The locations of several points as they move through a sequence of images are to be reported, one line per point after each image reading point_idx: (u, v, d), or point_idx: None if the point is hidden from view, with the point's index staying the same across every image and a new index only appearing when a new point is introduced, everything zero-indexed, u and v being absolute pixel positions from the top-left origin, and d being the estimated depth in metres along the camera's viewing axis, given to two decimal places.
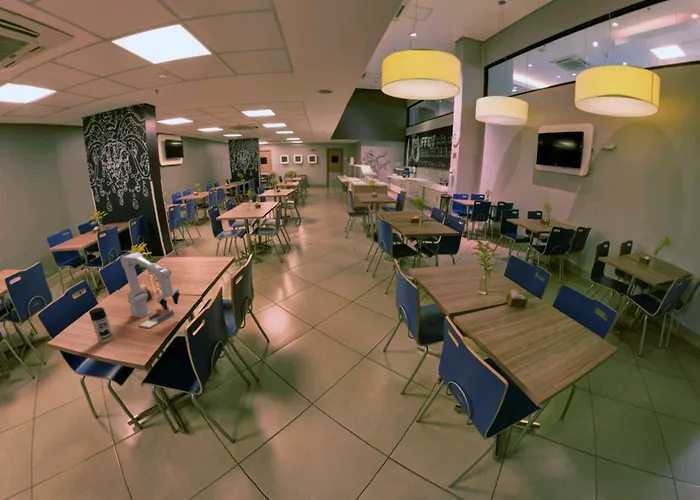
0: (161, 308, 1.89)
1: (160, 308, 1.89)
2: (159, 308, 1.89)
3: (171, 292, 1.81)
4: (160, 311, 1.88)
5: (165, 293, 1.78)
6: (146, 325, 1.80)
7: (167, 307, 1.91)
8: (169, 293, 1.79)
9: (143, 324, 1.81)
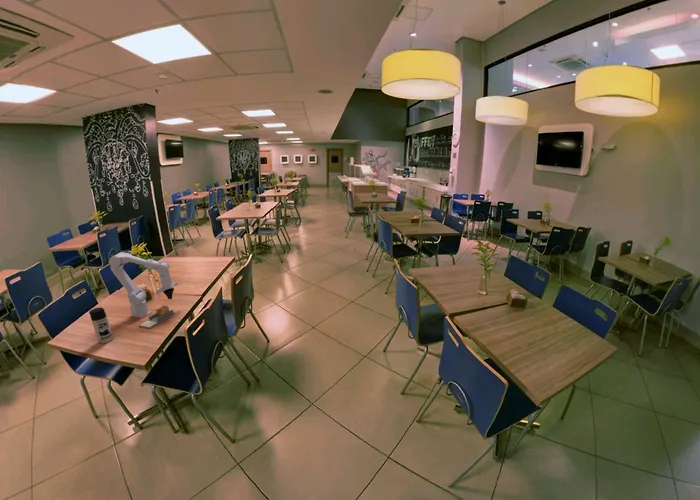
0: (161, 308, 1.89)
1: (160, 308, 1.89)
2: (159, 308, 1.89)
3: (170, 285, 1.92)
4: (160, 311, 1.88)
5: (164, 286, 1.90)
6: (146, 325, 1.80)
7: (167, 307, 1.91)
8: (168, 286, 1.91)
9: (143, 324, 1.81)
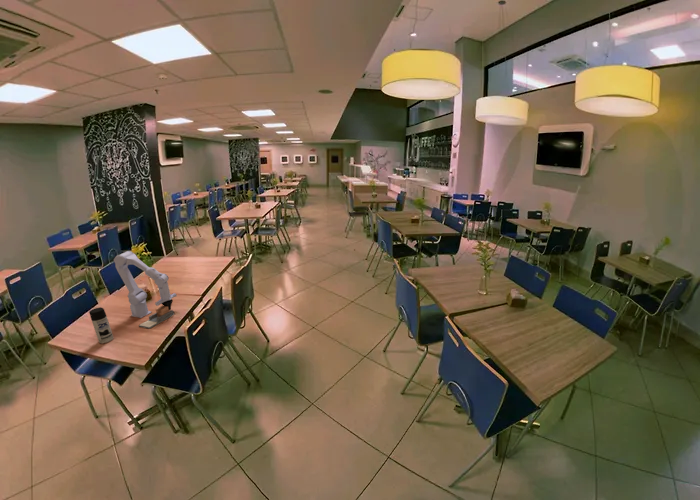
0: (161, 308, 1.89)
1: (159, 308, 1.89)
2: (159, 308, 1.89)
3: (169, 297, 1.92)
4: (159, 311, 1.88)
5: (163, 298, 1.90)
6: (146, 325, 1.80)
7: (167, 307, 1.91)
8: (167, 297, 1.91)
9: (143, 324, 1.81)
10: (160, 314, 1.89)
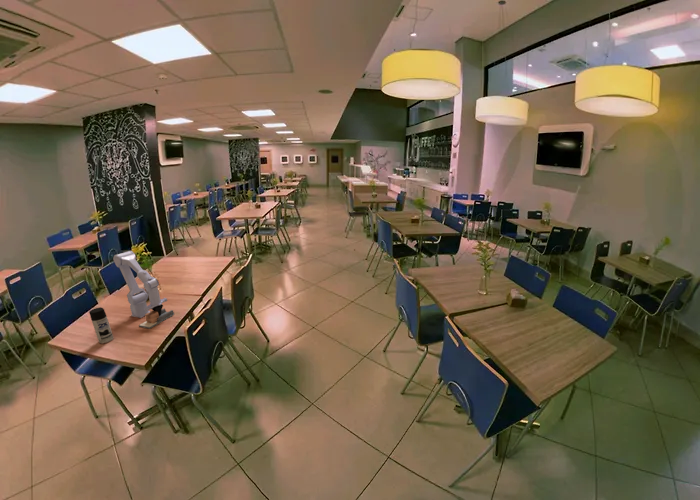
0: (150, 314, 1.82)
1: (149, 314, 1.82)
2: (149, 314, 1.83)
3: (159, 302, 1.85)
4: (149, 317, 1.81)
5: (153, 303, 1.83)
6: (146, 325, 1.80)
7: (157, 313, 1.85)
8: (157, 303, 1.84)
9: (143, 324, 1.81)
10: (149, 320, 1.82)
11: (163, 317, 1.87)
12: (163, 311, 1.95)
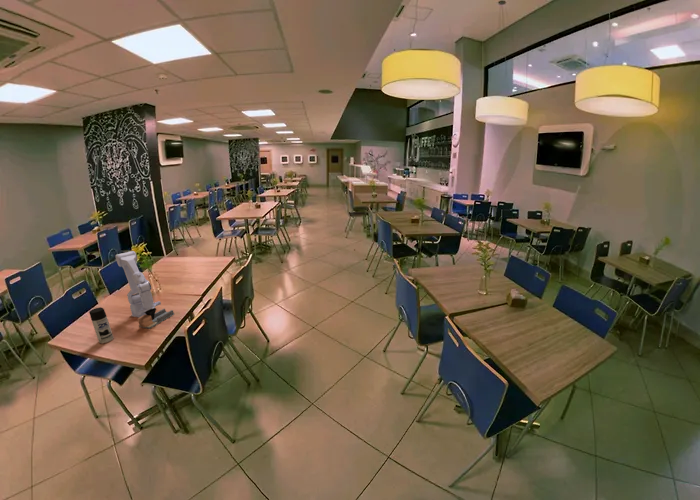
0: (143, 318, 1.78)
1: (142, 318, 1.78)
2: (141, 317, 1.78)
3: (152, 305, 1.81)
4: (142, 321, 1.77)
5: (146, 306, 1.79)
6: None
7: (150, 316, 1.80)
8: (150, 306, 1.80)
9: None
10: (142, 324, 1.78)
11: (163, 317, 1.87)
12: (163, 311, 1.95)
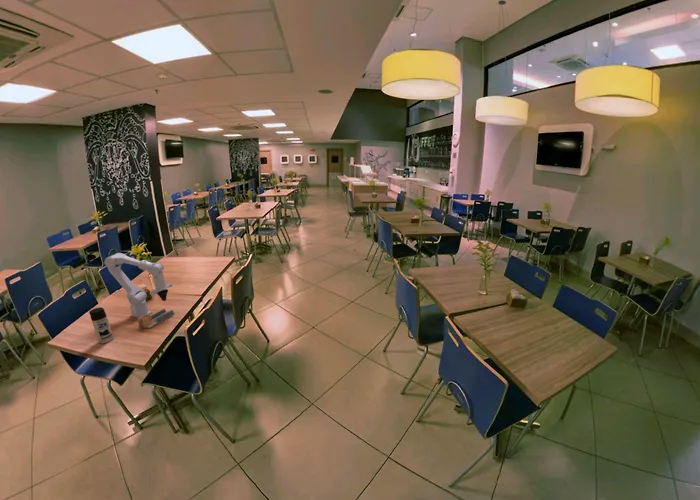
0: (143, 318, 1.78)
1: (142, 318, 1.78)
2: (141, 317, 1.78)
3: (164, 286, 1.90)
4: (142, 321, 1.77)
5: (158, 287, 1.87)
6: None
7: (150, 316, 1.80)
8: (162, 287, 1.88)
9: None
10: (142, 324, 1.78)
11: (163, 317, 1.87)
12: (163, 311, 1.95)
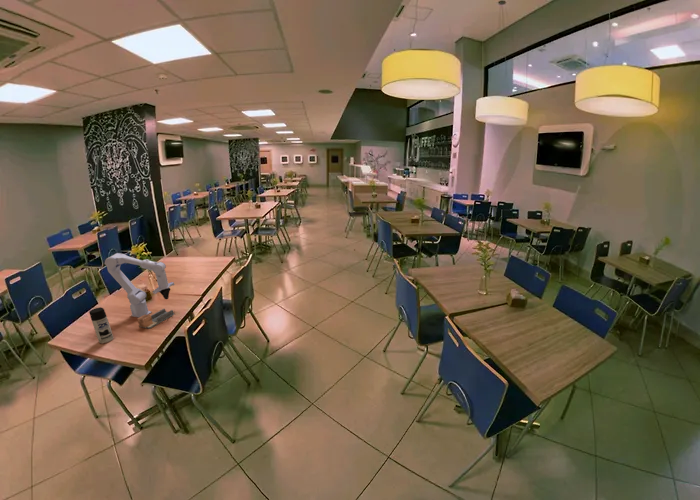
0: (143, 318, 1.78)
1: (142, 318, 1.78)
2: (141, 317, 1.78)
3: (166, 285, 1.92)
4: (142, 321, 1.77)
5: (161, 286, 1.89)
6: None
7: (150, 316, 1.80)
8: (165, 286, 1.91)
9: None
10: (142, 324, 1.78)
11: (163, 317, 1.87)
12: (163, 311, 1.95)
